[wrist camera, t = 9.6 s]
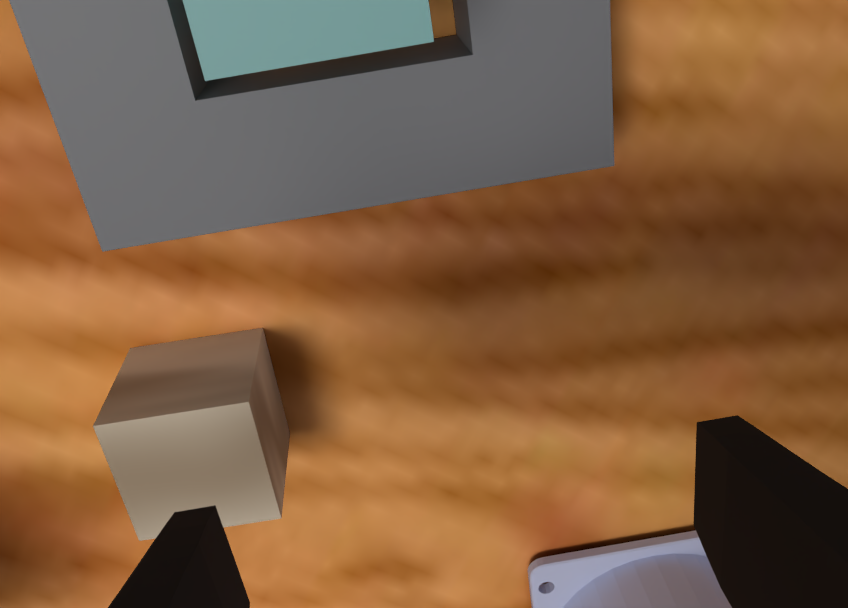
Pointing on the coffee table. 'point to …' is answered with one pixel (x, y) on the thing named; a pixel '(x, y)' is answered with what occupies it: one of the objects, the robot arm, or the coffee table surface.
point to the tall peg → (299, 31)
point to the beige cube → (197, 431)
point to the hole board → (314, 114)
